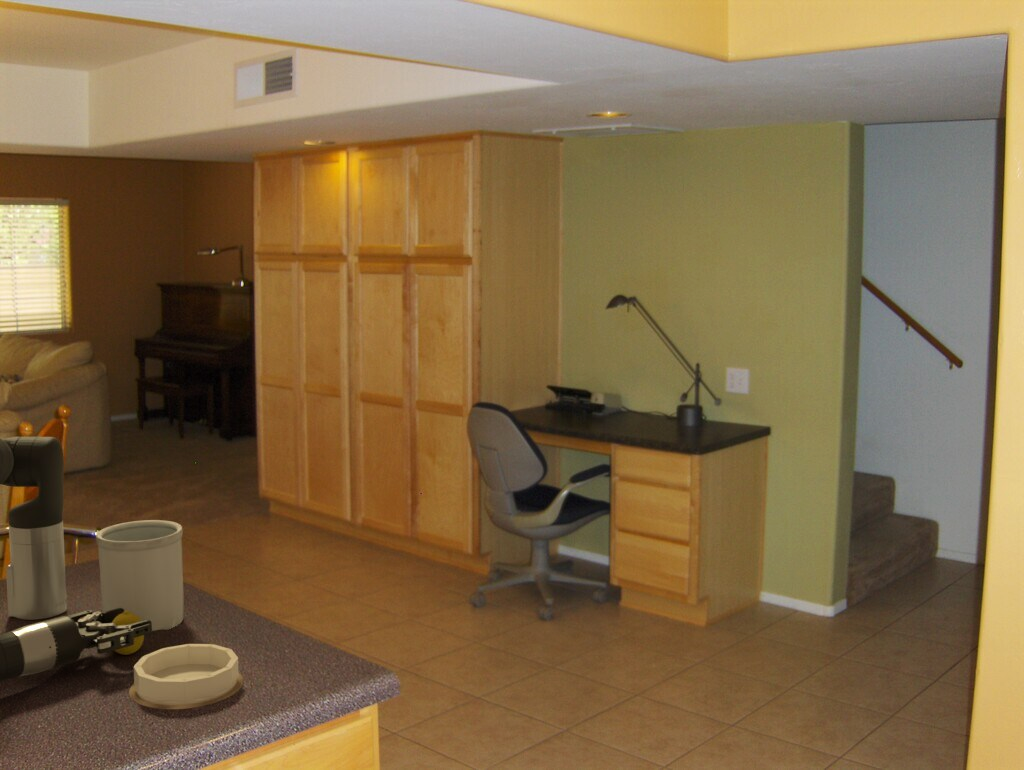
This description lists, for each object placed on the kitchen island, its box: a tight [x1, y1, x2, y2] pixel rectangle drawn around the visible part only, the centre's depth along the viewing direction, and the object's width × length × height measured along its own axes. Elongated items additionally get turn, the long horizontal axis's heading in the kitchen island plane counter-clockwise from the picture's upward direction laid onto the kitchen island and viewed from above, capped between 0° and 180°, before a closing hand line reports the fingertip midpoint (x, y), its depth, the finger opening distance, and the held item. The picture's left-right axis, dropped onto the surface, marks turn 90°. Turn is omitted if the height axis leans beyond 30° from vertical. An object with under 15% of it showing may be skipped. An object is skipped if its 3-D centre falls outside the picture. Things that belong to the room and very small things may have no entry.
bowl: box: [133, 643, 240, 706], centre depth 166 cm, size 15×15×4 cm
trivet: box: [128, 671, 244, 710], centre depth 167 cm, size 17×17×1 cm
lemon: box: [108, 611, 145, 656], centre depth 179 cm, size 6×6×8 cm
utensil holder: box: [95, 519, 184, 632], centre depth 194 cm, size 15×15×18 cm
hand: (136, 619), depth 180 cm, fingers open, 8 cm apart
